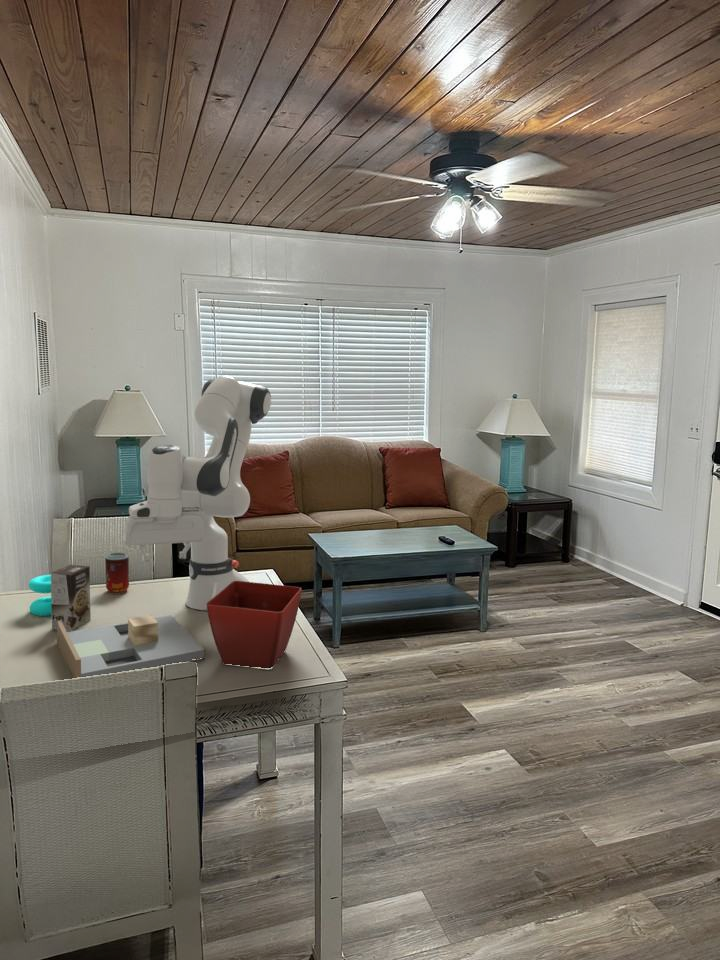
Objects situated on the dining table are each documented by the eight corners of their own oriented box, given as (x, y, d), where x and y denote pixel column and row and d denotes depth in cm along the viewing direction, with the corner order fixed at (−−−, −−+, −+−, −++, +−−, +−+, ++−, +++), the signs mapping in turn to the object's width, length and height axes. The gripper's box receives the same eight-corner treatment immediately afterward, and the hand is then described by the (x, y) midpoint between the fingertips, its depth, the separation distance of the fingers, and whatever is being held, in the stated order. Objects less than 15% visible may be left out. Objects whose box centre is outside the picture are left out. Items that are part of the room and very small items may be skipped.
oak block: (151, 633, 176) (151, 615, 175) (158, 641, 171) (157, 622, 170) (128, 637, 173) (128, 618, 172) (134, 645, 168) (134, 626, 167)
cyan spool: (73, 577, 195) (42, 586, 187) (74, 610, 197) (43, 619, 189) (52, 571, 201) (21, 579, 192) (53, 603, 202) (22, 612, 194)
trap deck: (171, 623, 190) (171, 603, 189) (204, 659, 167) (204, 636, 166) (57, 642, 173) (56, 620, 172) (76, 685, 151) (76, 660, 150)
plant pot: (280, 679, 158) (281, 611, 155) (204, 670, 161) (204, 603, 159) (301, 647, 177) (302, 587, 174) (232, 640, 180) (233, 580, 177)
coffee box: (72, 631, 181) (70, 574, 178) (51, 629, 182) (49, 572, 180) (91, 620, 190) (90, 565, 187) (71, 617, 191) (70, 563, 188)
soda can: (104, 589, 216) (104, 552, 214) (127, 586, 219) (127, 550, 217) (107, 596, 210) (106, 558, 208) (130, 593, 213) (130, 556, 211)
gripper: (202, 504, 180) (201, 554, 182) (122, 507, 170) (122, 559, 172) (207, 508, 174) (206, 560, 176) (125, 511, 165) (125, 565, 167)
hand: (164, 559), depth 174 cm, fingers open, 8 cm apart
